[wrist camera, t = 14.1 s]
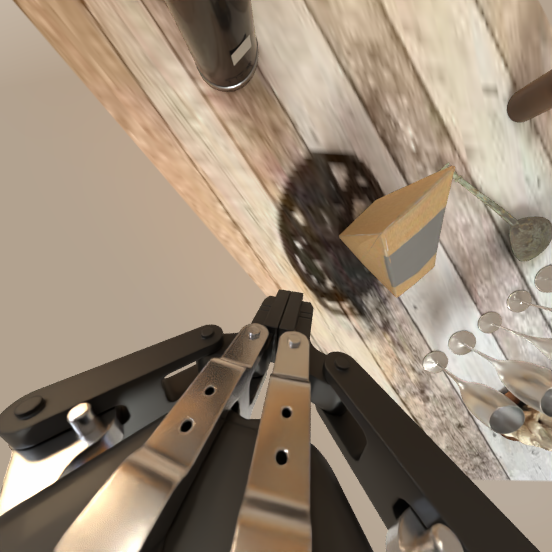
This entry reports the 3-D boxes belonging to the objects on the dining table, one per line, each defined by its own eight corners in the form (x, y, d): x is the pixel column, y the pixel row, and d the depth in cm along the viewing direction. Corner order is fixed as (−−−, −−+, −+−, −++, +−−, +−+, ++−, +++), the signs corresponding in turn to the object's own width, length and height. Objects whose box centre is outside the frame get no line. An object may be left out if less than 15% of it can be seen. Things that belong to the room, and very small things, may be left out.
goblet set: (434, 379, 37) (515, 455, 24) (414, 359, 36) (487, 425, 23) (575, 279, 33) (768, 305, 20) (556, 254, 32) (741, 264, 19)
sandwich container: (395, 299, 35) (478, 343, 20) (336, 237, 33) (378, 234, 18) (436, 265, 33) (557, 285, 18) (376, 198, 32) (456, 162, 17)
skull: (512, 456, 38) (550, 479, 30) (464, 398, 44) (484, 403, 35) (580, 431, 36) (640, 449, 28) (519, 374, 42) (554, 374, 34)
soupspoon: (516, 268, 33) (546, 237, 33) (543, 271, 30) (577, 236, 29) (423, 186, 31) (453, 150, 30) (442, 179, 28) (475, 138, 27)
